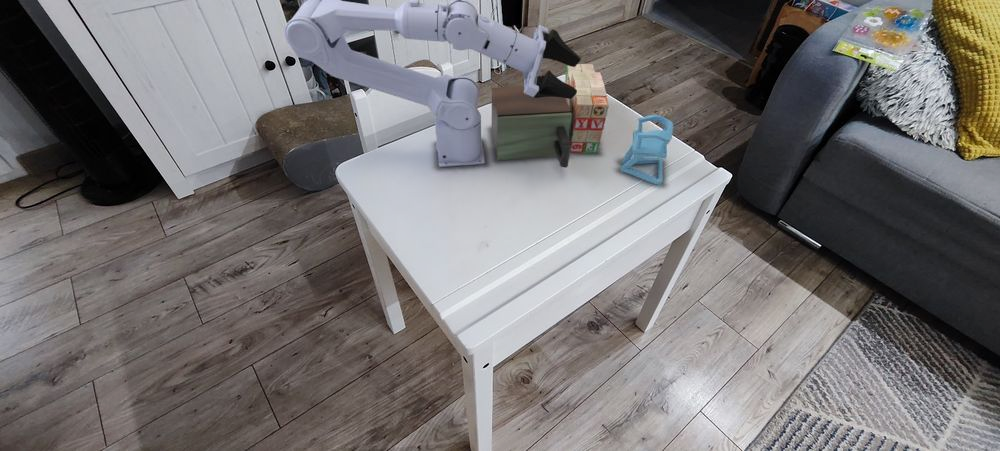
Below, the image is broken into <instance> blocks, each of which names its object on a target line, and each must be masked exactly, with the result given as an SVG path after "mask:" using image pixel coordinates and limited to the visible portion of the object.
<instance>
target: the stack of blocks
mask: <svg viewBox="0 0 1000 451" xmlns="http://www.w3.org/2000/svg"><path fill="white" fill-rule="evenodd" d="M564 83H566V84H568V85H570V86H572V87H574V88H575V89H576V90H577V93H576V95H575V96H574V97H573V98H572V99H567V98H566V100H567V103H568V105H569V108H570V110H571V114H572V118H571V124H570V130H569V136H568V138H569V140H570V143H571V151H570V154H598V153H599V152H598V151H599V148H600V144H601V139H602V135H603V130H604V128H605V124H606V119H607V115H608V111H609V107H610V104H609V103H610V102H609V100H608V94H607V91H606V86H605V83H604V80H603V77H602V73H601V72H597V71H595V66H594V64H593V63H578V64H577V65H576V66H575V67H572V66H568V65H566V68H565V79H564Z"/></svg>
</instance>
